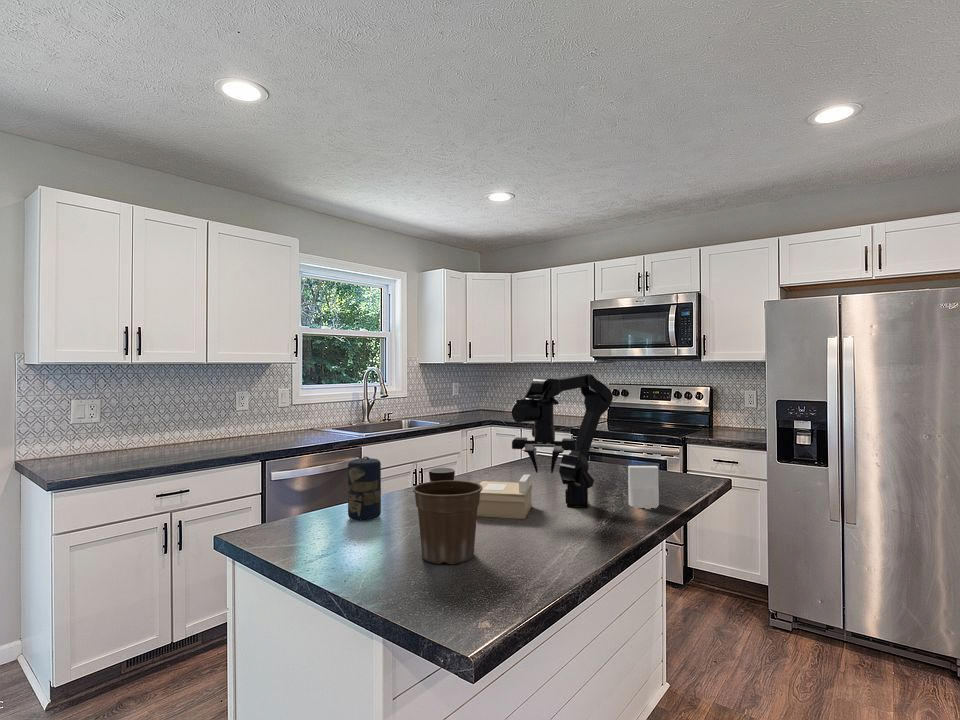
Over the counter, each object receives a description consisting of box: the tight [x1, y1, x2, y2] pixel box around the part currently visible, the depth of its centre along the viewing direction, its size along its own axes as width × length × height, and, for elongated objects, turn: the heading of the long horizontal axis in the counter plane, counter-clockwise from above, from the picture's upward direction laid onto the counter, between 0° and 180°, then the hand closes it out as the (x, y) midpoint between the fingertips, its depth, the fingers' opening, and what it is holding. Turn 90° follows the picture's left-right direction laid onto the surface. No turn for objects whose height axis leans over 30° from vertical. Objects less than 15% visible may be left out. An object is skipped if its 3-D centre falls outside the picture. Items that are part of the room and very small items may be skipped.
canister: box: [347, 456, 382, 522], centre depth 159 cm, size 10×10×18 cm
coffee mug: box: [428, 467, 456, 482], centre depth 180 cm, size 12×9×10 cm
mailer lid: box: [479, 474, 533, 502], centre depth 165 cm, size 16×16×5 cm
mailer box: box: [477, 488, 533, 520], centre depth 165 cm, size 16×14×6 cm
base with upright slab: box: [627, 465, 660, 510], centre depth 170 cm, size 9×9×12 cm
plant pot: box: [412, 479, 482, 565], centre depth 127 cm, size 16×16×16 cm
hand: (544, 472), depth 162 cm, fingers open, 4 cm apart
